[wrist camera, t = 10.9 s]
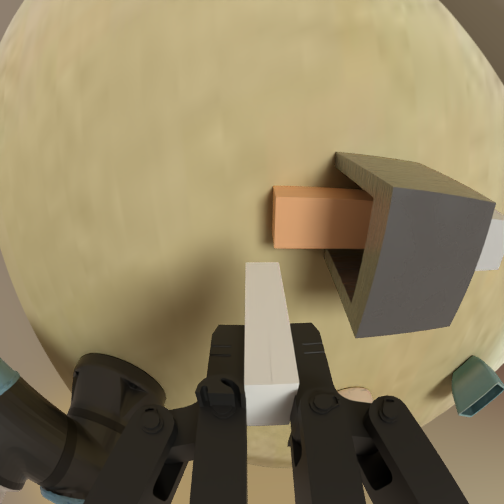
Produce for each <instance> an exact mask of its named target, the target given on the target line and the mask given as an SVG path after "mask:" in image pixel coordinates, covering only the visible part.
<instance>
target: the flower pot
mask: <svg viewBox="0 0 504 504" xmlns="http://www.w3.org/2000/svg"><path fill="white" fill-rule="evenodd" d="M503 391H504V384H503V383H502V381H501V380H500V379H499V377H498V376H497V374H496V373H495V372H494V371H493V370H492V369H491V368H490V367H489V366H488V365H487V364H486V363H485V362H484V361H482V360H481V359H479V358H478V357H475V356H471V357H470V358H469V359H468V360H467V361H466V362H465V363H464V364H463V365H462V366H460V367H459V368H458V369H457V370H456V371H455V372H454V373H453V376H452V394H453V398H454V401H455V405H456V408H457V412H458V415H459V416H466V417H472V416H473V415H474V414H476V413H477V412H479V411H480V410H481V409H482V408H484V407H485V406H486V405H487V404H488V403H490V402H491V401H492V400H493V399H495V398H496V397H497V396H498V395H499V394H500V393H502V392H503Z"/></svg>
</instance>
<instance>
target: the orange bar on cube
mask: <svg viewBox="0 0 504 504" xmlns="http://www.w3.org/2000/svg"><path fill="white" fill-rule="evenodd" d="M373 199H374V198H373V197H372V196H371V195H370V194H369V193H367V192H366V191H365V190H360V189H345V188H327V187H302V186H273V215H272V236H273V243H274V248H316V249H365V244H366V239H367V234H368V228H369V223H370V217H371V211H372V205H373ZM503 255H504V215H503V214H502V213H500V212H499V211H497V210H495V209H494V213H493V216H492V220H491V224H490V227H489V231H488V234H487V237H486V240H485V243H484V246H483V249H482V252H481V255H480V258H479V261H478V263H477V266H476V269H475V271H481V270H497V269H498V268H499V266H500V263H501V261H502V258H503Z"/></svg>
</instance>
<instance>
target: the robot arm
mask: <svg viewBox="0 0 504 504" xmlns="http://www.w3.org/2000/svg"><path fill="white" fill-rule="evenodd" d="M195 394H196V397H197V400H198V401H197V402H196V403H194V404H192V405H190V406H187V407H184V408H178V409H173V410H168V409H166V408H165V407H164V404H165V400H166V396H165V393H164V391H163V389H162V388H161V386H160V385H159V384H158V383H157V382H156V381H155V380H154V379H153V378H152V377H150V376H149V375H148V374H146V373H145V372H143V371H142V370H140V369H139V368H137V367H135V366H133V365H131V364H129V363H127V362H125V361H122V360H120V359H117V358H114V357H111V356H107V355H102V354H87V355H84V356H82V357H81V358H80V360H79V362H78V364H77V366H76V368H75V370H74V375H73V385H72V398H71V406H70V409H69V411H68V414H67V415H66V414H65V413H63V412H62V411H61V410H59V409H58V408H57V407H56V406H54V405H53V404H51V403H50V402H49V401H48V400H47V399H45V398H44V397H43V396H42V395H41V394H39V393H38V392H37V391H36V390H35V389H34V388H32V387H31V386H30V385H29V384H28V383H27V382H26V381H25V380H24V379H23V378H22V377H20V375H19V373H18V372H17V371H14V370H13V369H12V368H11V367H9V366H8V365H7V364H6V363H5V362H4V361H3V360H2V359H1V358H0V504H1V503H2V501H3V498H4V496H5V494H6V491H12V492H18V491H21V490H22V488H23V486H24V484H25V481H26V480H27V479H30V480H31V481H33V482H35V483H37V484H38V485H40V490H41V494H42V495H43V497H45V498H46V499H48V500H50V501H52V502H53V503H55V504H171V502H172V499H173V497H174V495H175V492H176V490H177V488H178V485H179V483H180V481H181V478H182V476H183V473H184V471H185V468H186V466H187V464H188V461H191V460H194V461H193V471H192V483H191V493H190V504H247V426H267V425H288V424H289V423H290V422H291V434H290V437H289V440H288V446H291V457H292V468H293V479H294V491H295V502H296V504H366V501H365V496H364V490H363V485H364V487H365V489H366V491H367V493H368V495H369V497H370V499H371V501H372V502H373V504H469V503H468V501H467V500H466V498H465V496H464V495H463V493H462V491H461V490H460V488H459V486H458V485H457V483H456V482H455V480H454V478H453V477H452V475H451V473H450V472H449V470H448V469H447V467H446V465H445V464H444V462H443V461H442V459H441V458H440V456H439V455H438V453H437V451H436V450H435V448H434V447H433V445H432V444H431V442H430V441H429V439H428V438H427V436H426V435H425V433H424V432H423V430H422V429H421V427H420V426H419V424H418V423H417V421H416V420H415V418H414V417H413V415H412V414H411V412H410V411H409V409H408V408H407V406H406V405H405V404H404V403H403V402H402V401H401V400H400V399H398V398H396V397H394V396H382V397H378V398H377V399H376V400H374V401H373V402H372V403H367V402H359V401H353V400H349V399H347V398H345V397H343V396H342V395H340V394H339V393H338V392H337V390H336V389H335V387H334V385H333V382H332V378H331V374H330V370H329V366H328V362H327V358H326V354H325V352H324V347H323V344H322V340H321V336H320V332H319V331H318V330H317V328H316V327H315V326H314V325H313V324H312V323H293V324H290V323H289V317H288V311H287V305H286V300H285V294H284V288H283V283H282V277H281V272H280V266H279V262H246V280H245V325H219V326H218V327H217V328H216V330H215V331H214V333H213V334H212V340H211V347H210V356H209V363H208V371H207V378H205V379H203V380H202V381H201V382H200V383H199V384H198V386H197V389H196V391H195ZM288 446H287V447H288ZM362 483H363V485H362Z"/></svg>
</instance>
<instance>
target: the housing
mask: <svg viewBox="0 0 504 504" xmlns="http://www.w3.org/2000/svg"><path fill="white" fill-rule="evenodd" d="M335 167H336V168H337V169H339V170H340V171H341V172H342V173H344V174H345V175H346V176H348V177H349V178H350V179H351V180H353V181H354V182H355V183H356V184H358V185H359V186H360V187H361V188H363V189H364V190H365V191H366V192H367V193H369V194H370V195H371V196H372V197H373V198H374V199H373V205H372V211H371V217H370V223H369V228H368V234H367V239H366V244H365V249H325V255H324V259H325V261H326V263H327V266H328V268H329V271H330V273H331V276H332V278H333V281H334V283H335V286H336V288H337V291H338V293H339V296H340V298H341V301H342V304H343V306H344V309H345V312H346V314H347V317H348V320H349V322H350V325H351V328H352V331H353V333H354V336H355V338H364V337H375V336H384V335H393V334H401V333H409V332H416V331H423V330H430V329H436V328H442V327H447V326H450V324H451V322H452V320H453V318H454V316H455V314H456V312H457V310H458V308H459V306H460V304H461V302H462V300H463V297H464V295H465V293H466V291H467V288H468V286H469V284H470V281H471V279H472V276H473V274H474V271H475V269H476V266H477V263H478V261H479V258H480V255H481V252H482V249H483V246H484V243H485V240H486V237H487V234H488V231H489V227H490V224H491V220H492V216H493V213H494V209H495V205H496V203H495V202H494V201H492V200H490V199H489V198H487V197H485V196H483V195H482V194H480V193H478V192H476V191H475V190H473V189H471V188H469V187H467V186H465V185H464V184H462V183H460V182H458V181H456V180H454V179H452V178H450V177H448V176H446V175H444V174H442V173H440V172H438V171H436V170H433V169H431V168H429V167H427V166H425V165H422V164H420V163H416V162H410V161H404V160H398V159H392V158H385V157H377V156H369V155H361V154H352V153H342V152H336V156H335Z"/></svg>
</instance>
